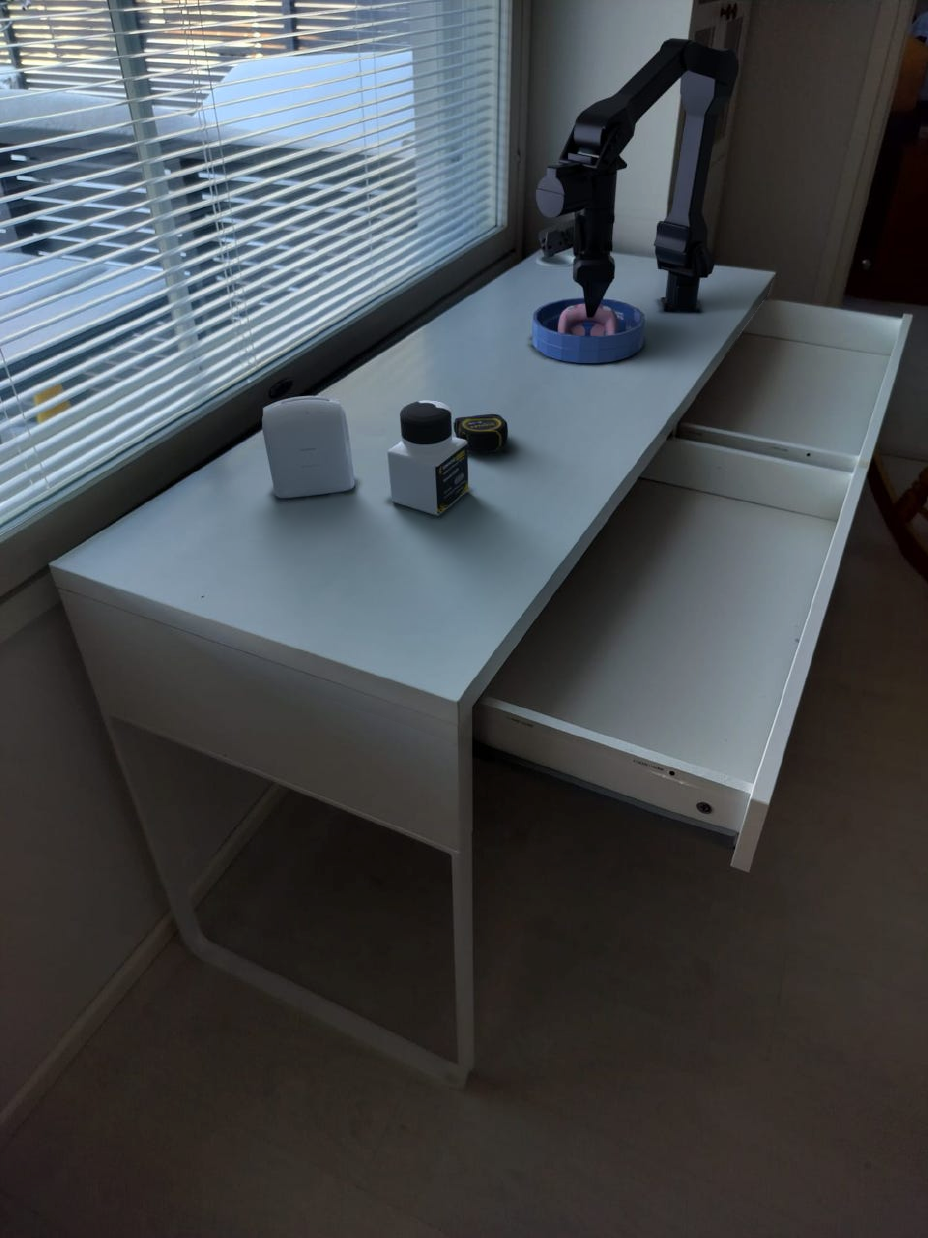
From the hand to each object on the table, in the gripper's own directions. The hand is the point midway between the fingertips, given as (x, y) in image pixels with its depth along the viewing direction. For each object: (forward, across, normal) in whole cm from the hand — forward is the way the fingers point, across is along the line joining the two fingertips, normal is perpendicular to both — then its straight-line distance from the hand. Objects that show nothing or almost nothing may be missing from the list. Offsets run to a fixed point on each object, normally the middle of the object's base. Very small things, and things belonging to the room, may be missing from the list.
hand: (589, 307), depth 145 cm
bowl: (+6, 0, 0) cm, 6 cm away
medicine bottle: (+6, +51, -20) cm, 55 cm away
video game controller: (+6, 0, 0) cm, 6 cm away
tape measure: (+6, +37, -15) cm, 40 cm away
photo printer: (+6, +50, -35) cm, 61 cm away
